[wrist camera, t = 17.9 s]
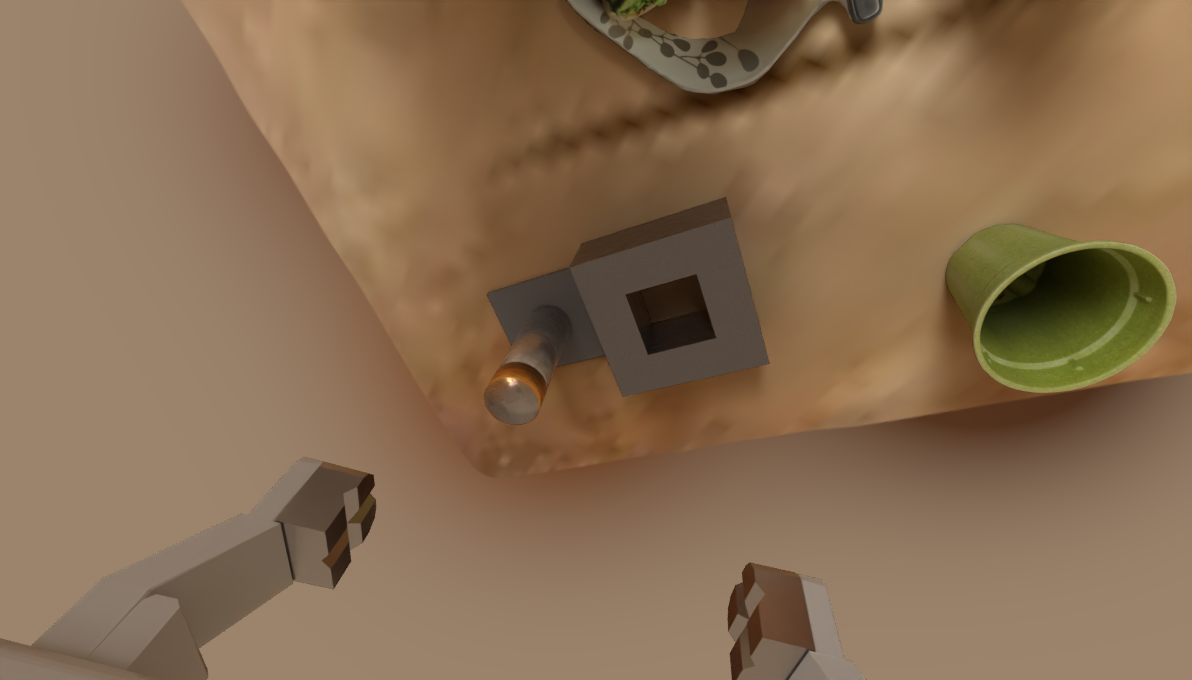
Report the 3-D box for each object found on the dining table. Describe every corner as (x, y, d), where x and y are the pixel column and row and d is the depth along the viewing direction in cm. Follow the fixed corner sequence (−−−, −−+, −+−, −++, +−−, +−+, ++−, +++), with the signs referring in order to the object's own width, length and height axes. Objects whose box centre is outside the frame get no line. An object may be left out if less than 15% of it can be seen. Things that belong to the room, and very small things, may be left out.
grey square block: (581, 243, 41) (569, 267, 36) (725, 197, 38) (730, 217, 33) (629, 362, 45) (622, 396, 41) (761, 330, 42) (769, 363, 38)
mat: (488, 292, 44) (486, 294, 44) (577, 265, 42) (576, 267, 41) (527, 372, 47) (526, 374, 47) (611, 350, 45) (611, 353, 45)
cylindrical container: (525, 339, 45) (482, 418, 36) (530, 300, 43) (485, 372, 34) (568, 348, 45) (536, 430, 35) (574, 309, 43) (542, 385, 34)
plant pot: (1068, 311, 38) (1163, 378, 30) (921, 338, 40) (974, 405, 33) (1079, 182, 34) (1191, 221, 26) (915, 220, 36) (974, 266, 29)
